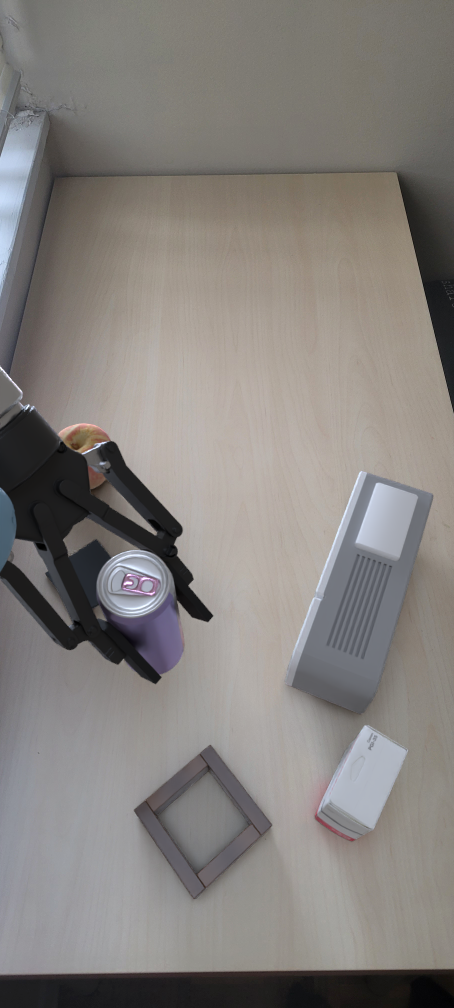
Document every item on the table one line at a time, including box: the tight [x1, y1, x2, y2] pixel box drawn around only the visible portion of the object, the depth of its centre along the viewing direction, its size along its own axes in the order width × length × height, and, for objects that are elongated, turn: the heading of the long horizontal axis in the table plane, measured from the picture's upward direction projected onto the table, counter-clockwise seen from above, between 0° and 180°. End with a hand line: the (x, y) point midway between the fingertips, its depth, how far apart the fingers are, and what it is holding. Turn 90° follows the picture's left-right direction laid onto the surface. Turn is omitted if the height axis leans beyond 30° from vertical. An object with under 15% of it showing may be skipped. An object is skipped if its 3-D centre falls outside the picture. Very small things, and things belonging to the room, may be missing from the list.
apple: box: [57, 423, 112, 490], centre depth 89 cm, size 9×9×8 cm
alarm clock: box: [284, 470, 434, 715], centre depth 76 cm, size 27×9×12 cm, turn 157°
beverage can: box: [97, 549, 186, 676], centre depth 55 cm, size 6×6×15 cm
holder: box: [133, 744, 273, 900], centre depth 67 cm, size 10×10×4 cm
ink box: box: [314, 724, 409, 842], centre depth 65 cm, size 9×5×12 cm, turn 148°
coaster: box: [44, 538, 113, 610], centre depth 83 cm, size 8×8×1 cm
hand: (177, 645), depth 54 cm, fingers closed on beverage can, 6 cm apart
